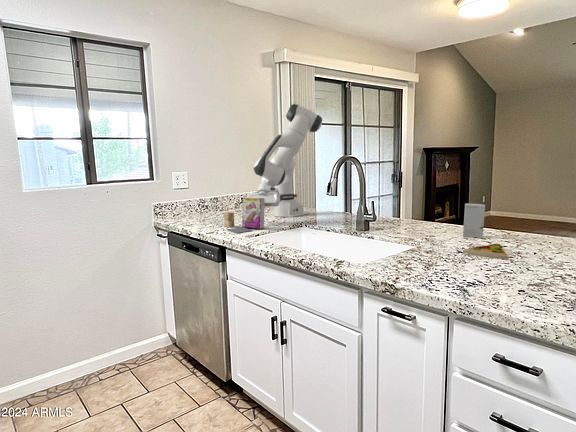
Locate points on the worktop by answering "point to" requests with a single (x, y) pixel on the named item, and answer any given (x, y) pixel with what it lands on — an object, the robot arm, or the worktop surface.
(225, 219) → the oak block
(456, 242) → the worktop surface
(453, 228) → the worktop surface
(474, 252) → the pizza slice
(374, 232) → the worktop surface
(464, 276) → the worktop surface
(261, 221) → the candy bar box
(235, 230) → the rubber mat
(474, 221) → the skincare box
